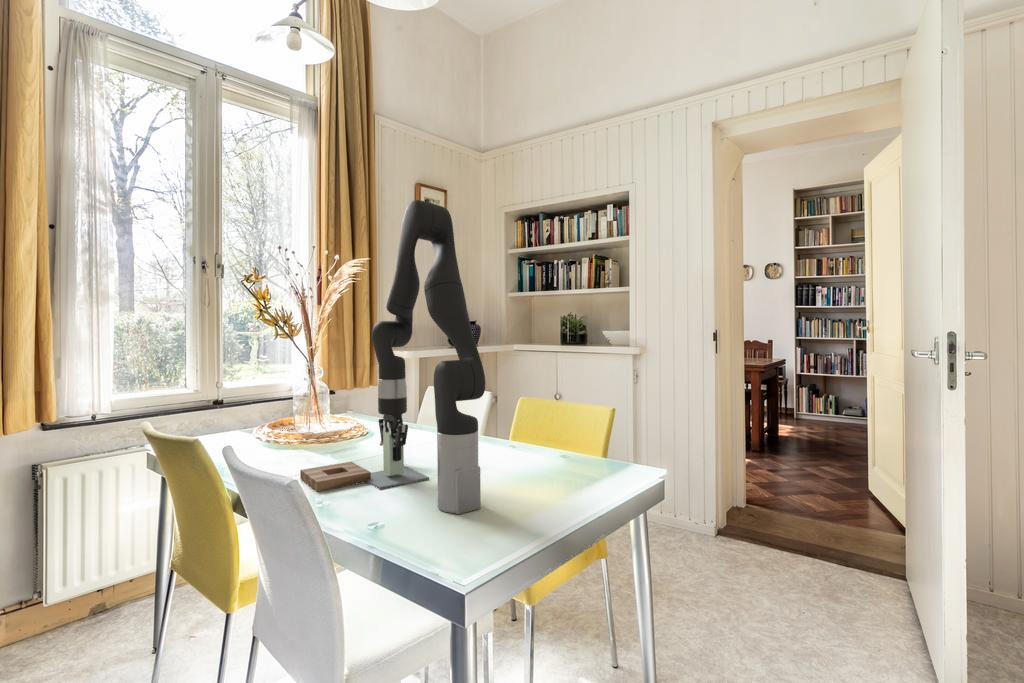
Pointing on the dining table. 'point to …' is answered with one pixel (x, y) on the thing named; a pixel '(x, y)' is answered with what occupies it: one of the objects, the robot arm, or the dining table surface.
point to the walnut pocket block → (334, 476)
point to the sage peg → (391, 457)
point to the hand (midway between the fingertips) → (393, 458)
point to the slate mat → (395, 478)
